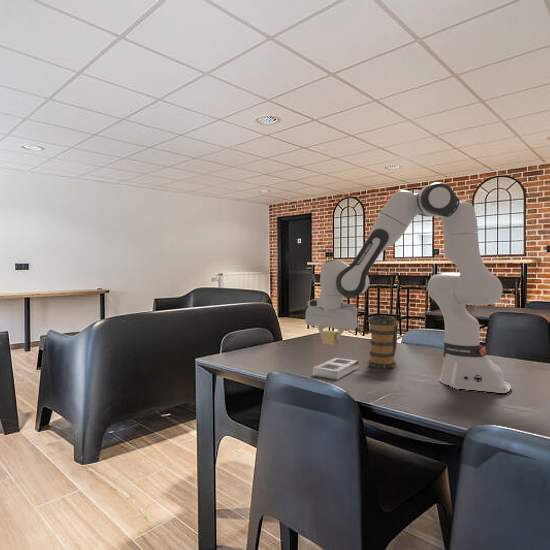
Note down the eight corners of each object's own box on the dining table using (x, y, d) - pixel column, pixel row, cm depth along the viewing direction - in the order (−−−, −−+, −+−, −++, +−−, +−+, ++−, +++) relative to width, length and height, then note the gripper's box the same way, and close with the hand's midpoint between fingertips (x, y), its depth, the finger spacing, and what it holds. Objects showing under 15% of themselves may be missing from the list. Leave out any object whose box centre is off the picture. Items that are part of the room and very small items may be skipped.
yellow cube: (333, 345, 151) (333, 332, 151) (322, 343, 153) (322, 331, 153) (338, 343, 155) (338, 331, 155) (327, 342, 157) (327, 330, 157)
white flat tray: (358, 368, 165) (358, 360, 164) (337, 379, 148) (337, 371, 148) (335, 364, 170) (335, 357, 170) (312, 375, 153) (312, 367, 153)
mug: (359, 365, 170) (360, 317, 170) (383, 359, 181) (384, 314, 181) (386, 371, 160) (386, 320, 160) (409, 364, 172) (410, 317, 171)
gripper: (360, 303, 151) (359, 341, 151) (311, 300, 162) (310, 335, 162) (354, 304, 146) (353, 343, 146) (303, 301, 157) (302, 337, 157)
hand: (330, 339), depth 154 cm, fingers closed on yellow cube, 4 cm apart
